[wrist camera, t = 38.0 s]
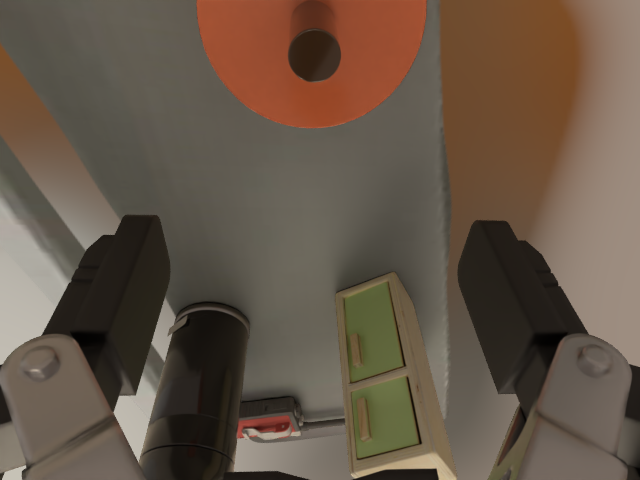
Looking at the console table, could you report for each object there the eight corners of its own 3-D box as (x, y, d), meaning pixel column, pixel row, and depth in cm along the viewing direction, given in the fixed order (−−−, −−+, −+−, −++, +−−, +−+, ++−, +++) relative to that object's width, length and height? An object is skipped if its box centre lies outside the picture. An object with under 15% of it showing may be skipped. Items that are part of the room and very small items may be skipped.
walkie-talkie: (231, 430, 76) (348, 416, 74) (228, 456, 73) (351, 443, 71) (214, 404, 71) (341, 388, 69) (210, 431, 67) (343, 416, 65)
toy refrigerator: (393, 265, 52) (434, 450, 36) (415, 302, 56) (459, 482, 40) (331, 288, 54) (343, 472, 38) (356, 322, 58) (376, 500, 42)
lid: (401, 123, 31) (420, 174, 27) (212, 117, 31) (196, 167, 26) (445, -114, 23) (484, -103, 18) (184, -131, 22) (152, -124, 17)
